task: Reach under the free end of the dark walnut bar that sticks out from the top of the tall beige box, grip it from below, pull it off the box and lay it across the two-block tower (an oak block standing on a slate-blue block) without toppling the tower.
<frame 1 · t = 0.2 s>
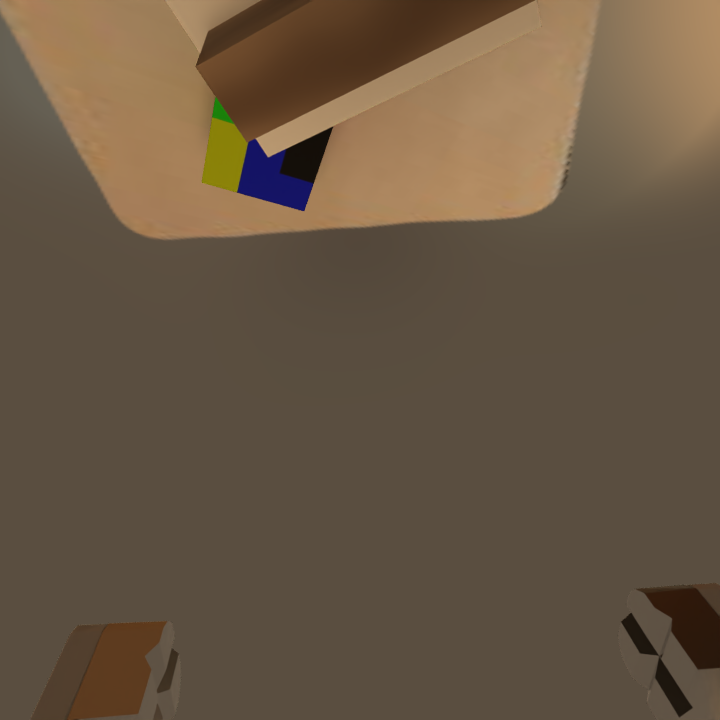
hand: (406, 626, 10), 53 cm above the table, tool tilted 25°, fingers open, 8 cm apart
puzzle toy: (272, 98, 55), on the table
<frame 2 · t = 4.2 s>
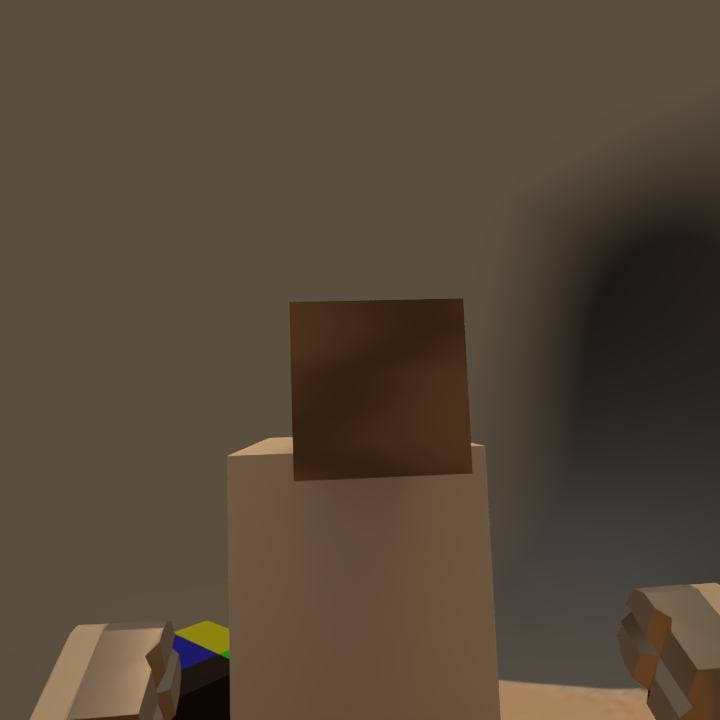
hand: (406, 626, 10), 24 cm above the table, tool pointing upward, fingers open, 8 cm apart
walnut bar: (353, 446, 24), point 26 cm above the table, touching tall beige box
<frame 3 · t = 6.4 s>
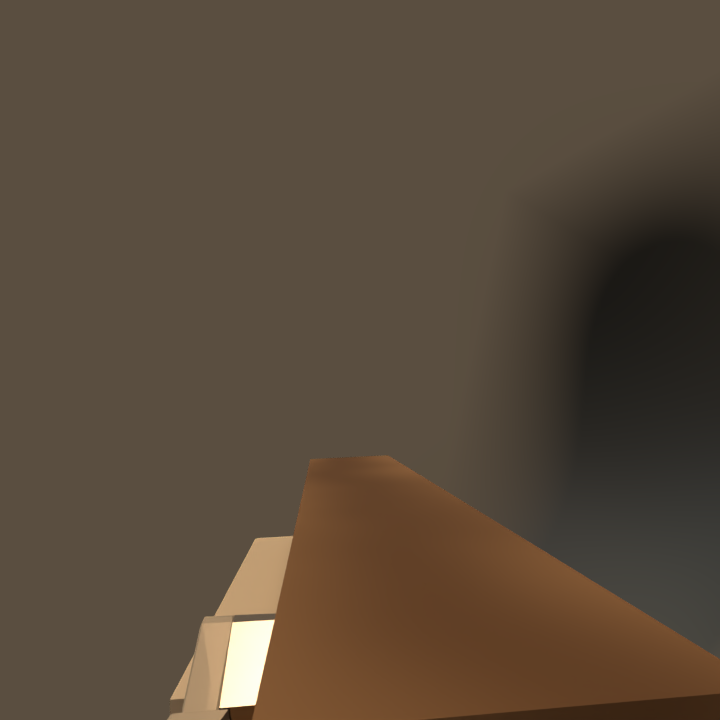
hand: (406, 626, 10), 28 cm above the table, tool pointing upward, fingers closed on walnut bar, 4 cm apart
walnut bar: (377, 630, 16), point 26 cm above the table, touching gripper, tall beige box
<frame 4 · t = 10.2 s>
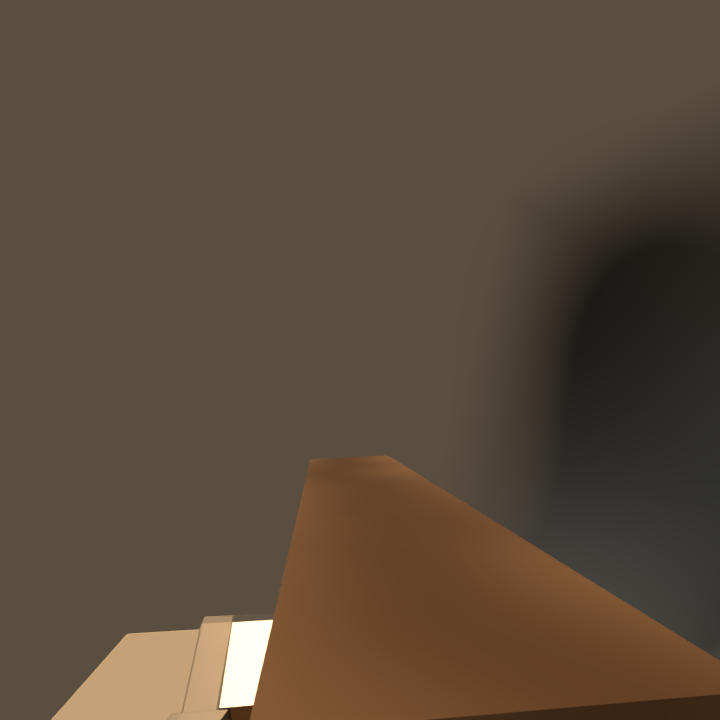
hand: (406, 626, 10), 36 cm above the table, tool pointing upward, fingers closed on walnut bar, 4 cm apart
walnut bar: (376, 631, 16), point 34 cm above the table, touching gripper
when the fingers open (19 cm above the table, at t = 14.1 s): walnut bar drops 2 cm, resting on tower top.
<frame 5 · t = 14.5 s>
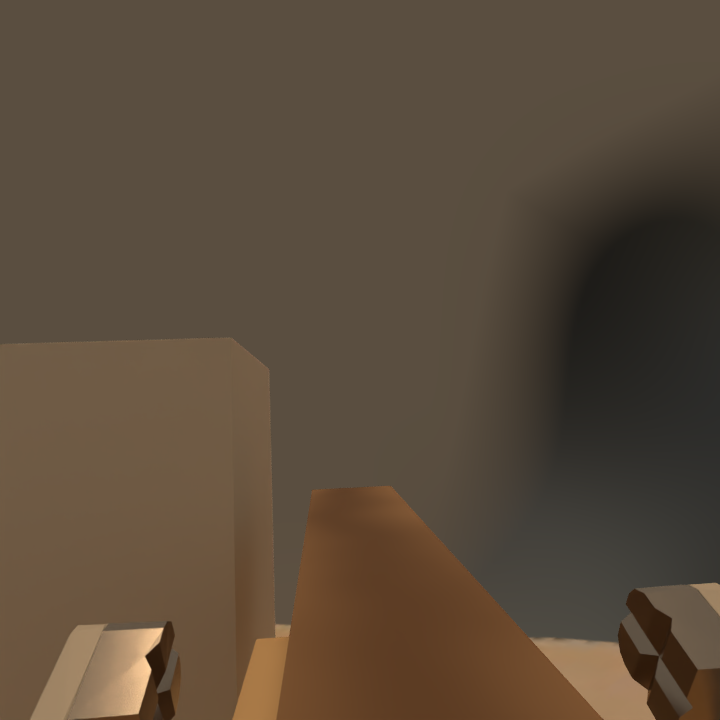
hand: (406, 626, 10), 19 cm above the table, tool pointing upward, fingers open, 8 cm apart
walnut bar: (378, 690, 15), point 15 cm above the table, touching tower top
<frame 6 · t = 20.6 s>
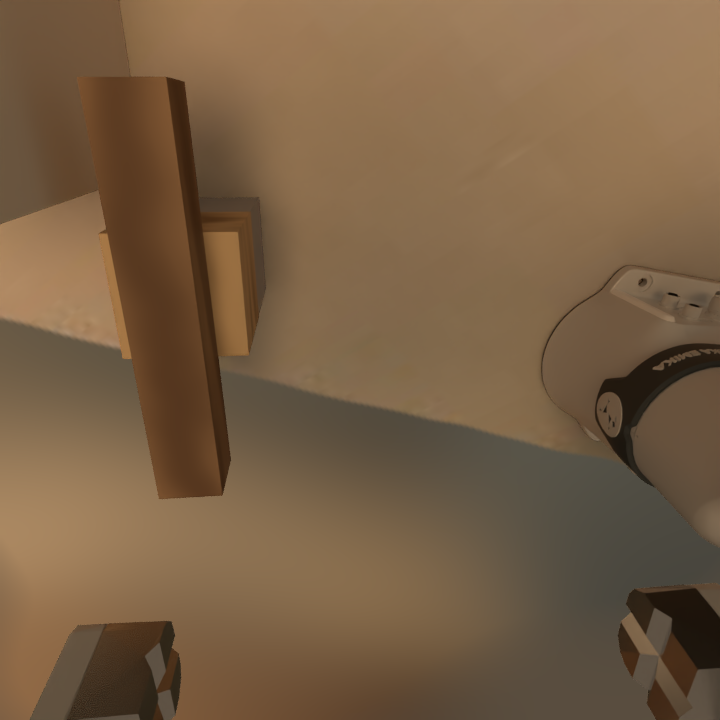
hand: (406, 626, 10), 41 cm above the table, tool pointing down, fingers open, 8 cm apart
tall beige box: (59, 61, 40), on the table
tower bottom: (216, 245, 47), on the table, touching tower top
walnut bar: (178, 299, 33), point 15 cm above the table, touching tower top
tower top: (200, 267, 40), point 7 cm above the table, touching tower bottom, walnut bar
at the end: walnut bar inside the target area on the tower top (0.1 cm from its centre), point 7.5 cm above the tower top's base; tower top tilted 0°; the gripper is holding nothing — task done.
